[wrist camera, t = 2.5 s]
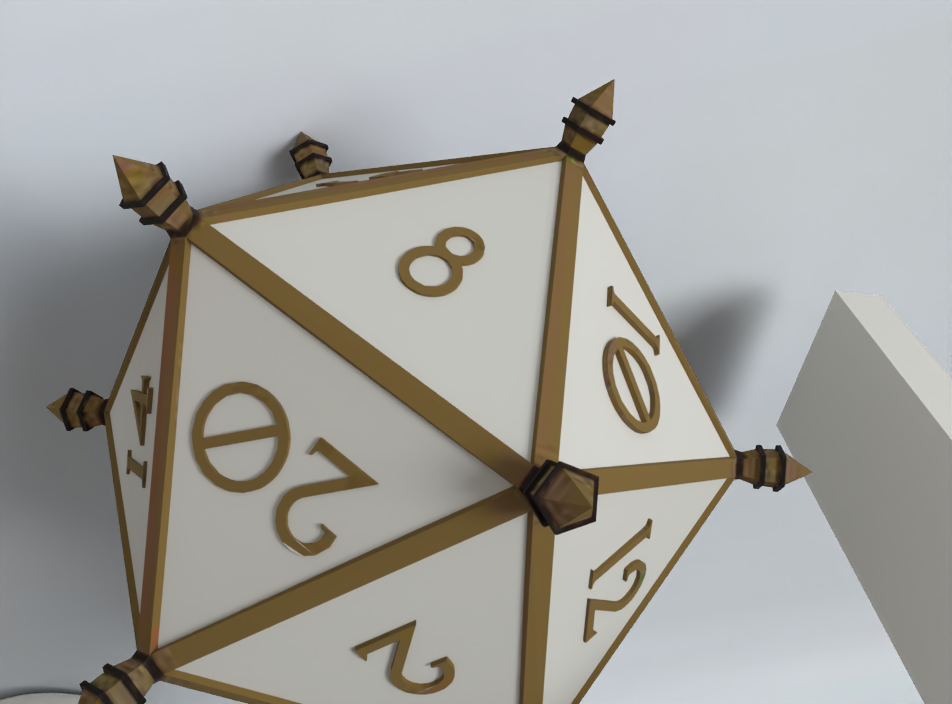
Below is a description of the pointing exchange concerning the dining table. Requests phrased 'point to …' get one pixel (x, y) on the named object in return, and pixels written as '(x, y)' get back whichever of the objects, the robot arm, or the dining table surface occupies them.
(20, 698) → the drinking glass
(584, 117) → the game die
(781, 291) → the dining table surface
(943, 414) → the robot arm
